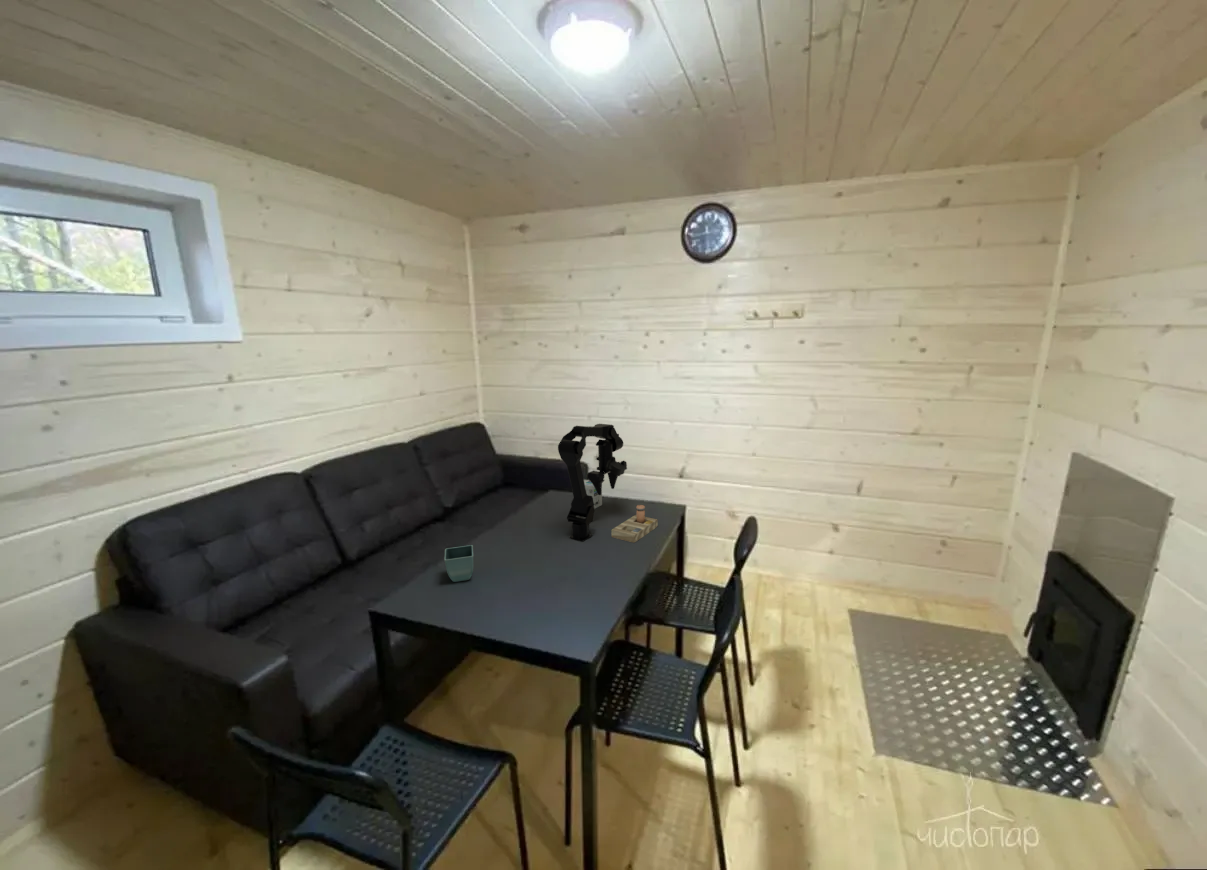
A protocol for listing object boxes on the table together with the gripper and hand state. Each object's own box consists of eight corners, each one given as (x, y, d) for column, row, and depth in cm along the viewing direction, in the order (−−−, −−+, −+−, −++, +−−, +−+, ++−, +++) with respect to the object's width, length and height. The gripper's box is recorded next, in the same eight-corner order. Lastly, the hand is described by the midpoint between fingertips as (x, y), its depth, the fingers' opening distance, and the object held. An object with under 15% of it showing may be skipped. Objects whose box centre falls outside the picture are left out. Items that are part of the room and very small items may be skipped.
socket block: (634, 542, 187) (634, 534, 187) (611, 537, 193) (611, 529, 192) (657, 526, 202) (657, 518, 201) (635, 521, 207) (635, 514, 207)
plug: (642, 530, 199) (642, 508, 197) (634, 528, 200) (634, 506, 199) (646, 527, 201) (646, 505, 199) (639, 525, 203) (639, 504, 201)
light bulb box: (602, 504, 228) (602, 481, 225) (594, 509, 222) (593, 486, 220) (583, 501, 233) (582, 478, 231) (574, 505, 228) (573, 482, 225)
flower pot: (446, 586, 159) (444, 560, 157) (447, 573, 167) (444, 548, 165) (475, 582, 161) (473, 556, 159) (474, 569, 169) (472, 544, 167)
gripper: (608, 462, 193) (609, 501, 196) (634, 452, 207) (635, 488, 211) (585, 458, 199) (586, 496, 202) (612, 449, 214) (612, 484, 217)
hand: (606, 491), depth 208 cm, fingers open, 9 cm apart
